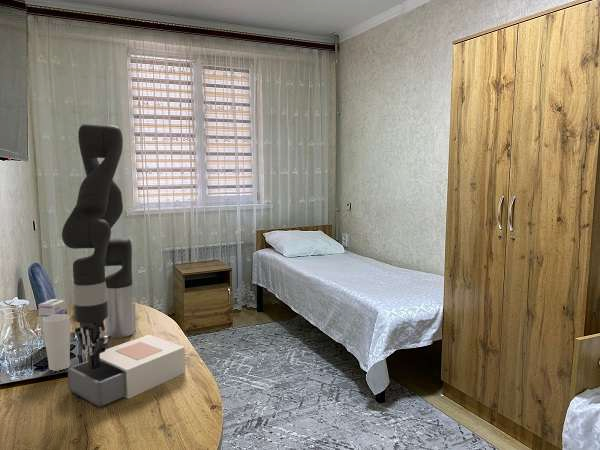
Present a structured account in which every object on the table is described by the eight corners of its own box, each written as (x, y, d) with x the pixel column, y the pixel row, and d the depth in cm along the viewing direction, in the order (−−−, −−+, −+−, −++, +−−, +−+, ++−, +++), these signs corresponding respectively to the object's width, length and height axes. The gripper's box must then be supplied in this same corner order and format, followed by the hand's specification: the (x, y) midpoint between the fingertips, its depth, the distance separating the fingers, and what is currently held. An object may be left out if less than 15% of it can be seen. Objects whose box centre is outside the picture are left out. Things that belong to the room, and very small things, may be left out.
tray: (99, 407, 107) (98, 383, 107) (68, 389, 116) (67, 368, 115) (162, 378, 122) (161, 358, 121) (131, 365, 130) (130, 345, 129)
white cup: (68, 361, 134) (65, 312, 132) (76, 368, 130) (73, 317, 128) (42, 368, 130) (39, 317, 128) (50, 375, 125) (46, 323, 123)
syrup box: (57, 349, 143) (54, 304, 141) (40, 347, 144) (37, 303, 142) (69, 342, 149) (67, 299, 147) (54, 341, 150) (51, 298, 148)
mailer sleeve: (128, 398, 113) (126, 369, 112) (93, 381, 122) (91, 354, 121) (185, 372, 127) (184, 346, 126) (150, 358, 136) (149, 334, 135)
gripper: (120, 301, 110) (123, 369, 112) (90, 292, 118) (94, 356, 120) (90, 308, 104) (94, 380, 106) (61, 299, 112) (65, 366, 114)
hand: (94, 367), depth 113 cm, fingers closed
